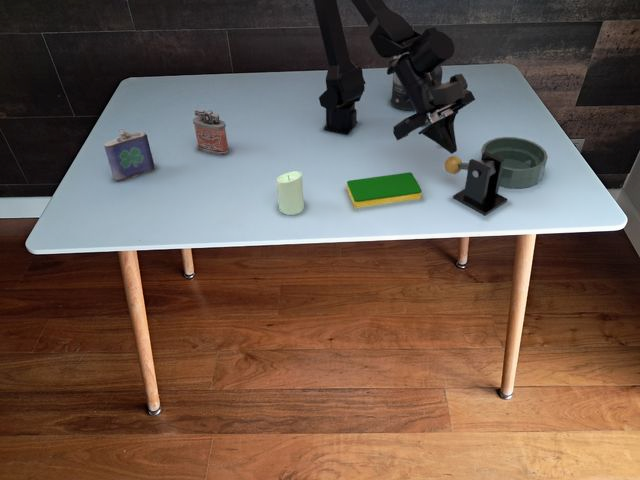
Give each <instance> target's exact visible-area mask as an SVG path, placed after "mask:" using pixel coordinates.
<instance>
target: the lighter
mask: <svg viewBox="0 0 640 480" xmlns="http://www.w3.org/2000/svg"><path fill="white" fill-rule="evenodd" d="M193 113H194V116H195V117H194V118H192V123H193V125H194V130H195V135H196V140H197V150H198V151H200V152H202V153H205V154H208V155H214V156H220V157H221V156H222V157H224V156H227V155H229V154H230V147H229V145H228V138H227V131H226V122H225V121H224V120H222V119H220V114H219V113H216V112H214V111H213V110H211V109H208V110H207V111H206V110H203V109H199V108H196V109H195V110H194V111H193Z"/></svg>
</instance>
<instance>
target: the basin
mask: <svg viewBox="0 0 640 480" xmlns="http://www.w3.org/2000/svg"><path fill="white" fill-rule="evenodd" d="M485 151H486V152H488V153H490V154H493V155H495V156H497V157H499V158H501V159H503V160H504V165H503V170H502V175H501V180H500V185H499V187H502V188H507V189H526V188H527V189H528V188H531V187H533V186H536V185H538V184H539V183H540V182H541V181H543V178H544V174H545V169H546V165H547V163H548V153H547V151H546V150H545V148H543V147H542V146H541V145H539V144H538V143H536V142H535V141H531V140H529V139H527V138H521V137H515V136H502V137H495V138H493V139H489V140H487V141H486V142H485V143H484V144H482V146H481V149H480V155H479V159H478V162H480V161H481V159H482V153H484V152H485Z"/></svg>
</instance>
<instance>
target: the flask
mask: <svg viewBox="0 0 640 480" xmlns="http://www.w3.org/2000/svg"><path fill="white" fill-rule="evenodd" d="M118 132H119V137H116V138H113V139H111V140H108V141H106V142H104V144H103V148H104V150H105V151H104V152H105V154H106V157H107V160H108V163H109V167H110V170H111V174H112V178H113V180H114V181H115V182H123V181H126V180H127V179H132V178H135V177H138V176H139V175H141V176H142V175H144V174H147V173H150V172H151V173H152V172H153V171H155V170H156V167H155V161H154V158H153V154H152V149H151V147H150V143H149V142H150V141H149V138H148V134H147V133H146V132H144V131H134V132H133V133H130V132H127V131H126V129H125V128H121V129H120V130H118Z"/></svg>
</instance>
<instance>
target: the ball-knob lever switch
mask: <svg viewBox="0 0 640 480" xmlns="http://www.w3.org/2000/svg"><path fill="white" fill-rule="evenodd" d="M481 160H488V161H494V164H495V171H496V173H494V174H492V175H491V176H490V172H491V168H490V167H488V166H486V165H484V164H482V163H480V162H479V160H476V159H475V158H471V159H469V160H468V163H469V166H468V170H467V172H466V178H465V186H464V188H463V189H462V190H460V191H459V192H457V193H455V194H453V196H452V199H453V200H455V201H457V202H459V203H461V204H462V205H464V206H466V207H468V208H470V209H472V210H473V211H475V212H477V213H478V214H480V215H482V216H484V217H486V216H487V215H489V214H490V213H492V212H494V211H496V210H497V209H498V208H500V207H502V206H503V205H505V204H506V203H507V202H508V200H509V199H508V198H507V197H506V196H503V195H501V194H499V189H500V186H499V185H500V180H501V175H502V170H503V165H504V160H503V159H501V158H499V157H497V156H495V155H493V154H490V153H488V152H486V151H485V152H484V153H482V159H481Z"/></svg>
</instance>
